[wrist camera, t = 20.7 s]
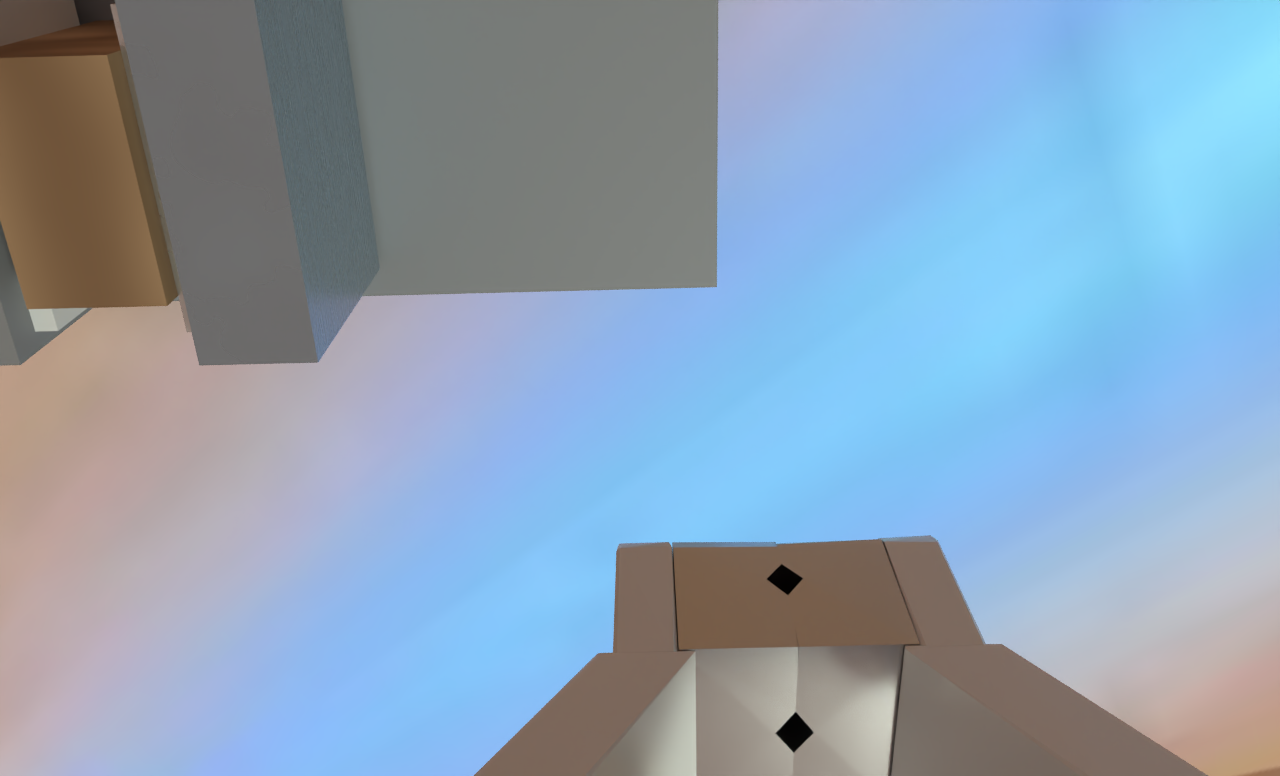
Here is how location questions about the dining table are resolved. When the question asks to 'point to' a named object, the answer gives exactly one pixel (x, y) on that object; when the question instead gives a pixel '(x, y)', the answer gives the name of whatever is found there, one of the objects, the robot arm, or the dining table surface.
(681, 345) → the dining table surface
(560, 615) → the dining table surface
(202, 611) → the dining table surface
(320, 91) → the block
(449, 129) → the vise body
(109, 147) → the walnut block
